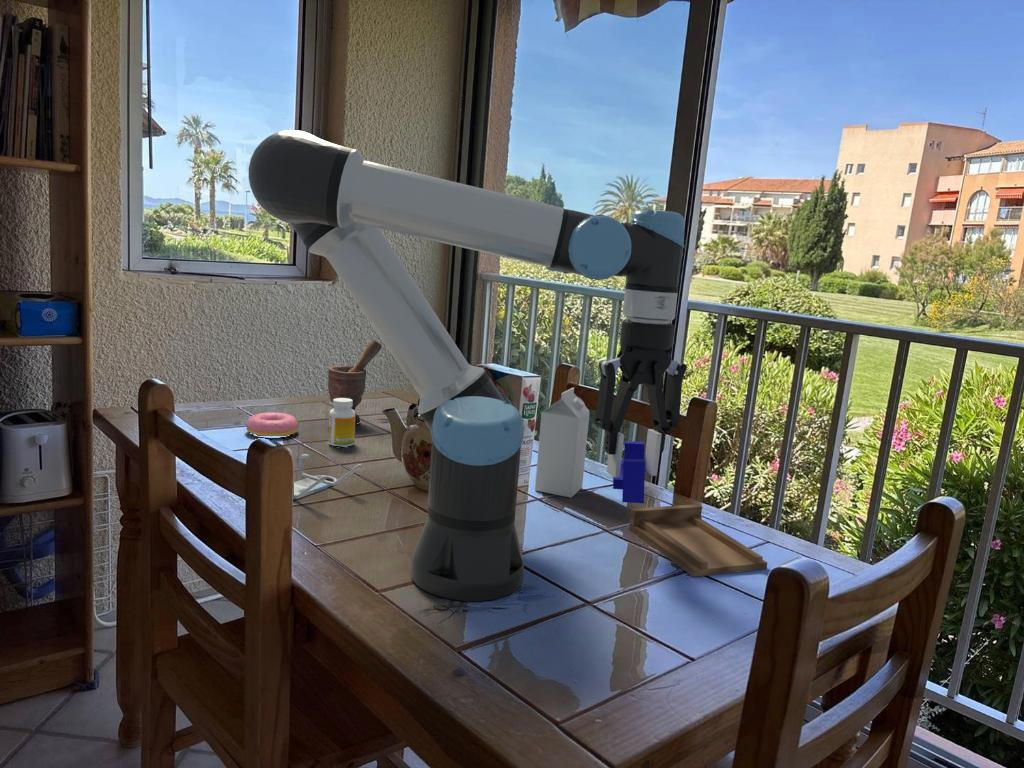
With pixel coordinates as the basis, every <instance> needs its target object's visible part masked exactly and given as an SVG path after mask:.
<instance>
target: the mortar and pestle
mask: <svg viewBox="0 0 1024 768" xmlns="http://www.w3.org/2000/svg"><path fill="white" fill-rule="evenodd" d="M381 349H382V344H381V343H380V342H379V341H377V340H372V341H371V342H369V343H368V345H367V347H366V348H365V350H364V351H363V353H362V355H361V357H360V358H359V359H358V361H357V363H356V364H355V365H331V366H329V367H328V371H327V373H328V375H327V376H328V378H327V379H328V380H327V387H328V388H327V389H328V390H327V391H328V394H329V399H330V400H329V401H330V402H331V403H332V404H333V399H335V398H348V399H352V400H353V405H352V407H351V409H353V410H354V411H355V424H357V423H359V422H360V421H361V418H360V415H359V414H357V412H356V408H357V407H358V406H359V405H360V404H361V402H362V400H363V398H362V397H363V396H364V394H365V390H366V377H367V369H366V367H367V366H368V365H369V363H370V362H371V361H372V360H373V359H374V358H375V357H376V356H377V355H378V353H379V352H381Z"/></svg>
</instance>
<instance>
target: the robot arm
mask: <svg viewBox="0 0 1024 768" xmlns="http://www.w3.org/2000/svg"><path fill="white" fill-rule="evenodd" d="M248 182H249V186H250V190H251V192H252V195H253V196H254V199H255V200H256V202H257V203H258V204H259V206H260V207H261V208H262V209H263V210H265V212H267V213H268V214H269V215H270V216H272V217H274V218H275V219H276V220H279V221H281V222H285V223H287V224H290V226H291V227H292V228H293V230H294V232H295V233H296V235H298V236H297V237H299V239H300V241H301V242H302V243H303V244H304V246H305V247H306V250H308V252H309V253H310V254H313V255H316V256H321V257H324V258H326V259H327V261H328V262H329V264H330V265H331V267H332V268H333V269H334V271H335V272H336V274H337V275H338V277H339V278H340V280H341V281H342V283H343V284H344V286H345V287H346V289H347V290H348V291H349V293H350V295H351V296H352V298H353V299H354V301H355V302H356V304H357V305H358V307H359V308H360V310H361V311H362V313H363V314H364V315H365V317H366V319H368V322H369V324H370V325H371V326H372V327H373V329H374V331H375V332H376V333H377V335H378V336H379V338H380V339H381V341H382V342H383V344H384V346H385V347H386V348H387V349H388V351H389V353H390V354H391V355H392V357H393V359H394V360H395V362H396V363H397V364H398V366H399V368H400V369H401V370H402V372H403V374H405V376H406V378H407V379H408V381H409V383H410V384H411V385H412V387H413V388H414V389H415V391H416V392H417V394H418V396H419V402H418V403H419V405H418V408H417V413H418V414H419V416H420V417H421V419H422V420H423V421H424V423H425V424H426V426H427V428H428V429H429V430H430V436H431V453H430V469H429V485H428V499H427V501H428V502H427V516H426V521H425V523H424V526H423V527H422V530H421V533H420V536H419V537H418V541H417V543H416V546H415V548H414V550H413V553H412V556H411V561H410V576H411V577H410V578H411V579H412V581H413V582H414V584H415V585H416V586H418V587H419V588H420V589H422V590H423V591H425V592H427V593H429V594H432V595H434V596H437V597H440V598H443V599H448V600H456V601H465V602H466V601H467V602H480V601H481V602H482V601H489V600H495V599H496V600H497V599H499V598H504V597H506V596H508V595H511V594H512V593H514V592H515V591H517V590H518V589H519V588H520V587H521V585H522V584H523V580H524V570H525V563H524V562H525V561H524V558H523V553H522V549H521V546H520V541H519V538H518V533H517V529H516V525H515V524H516V523H515V522H516V510H517V509H516V508H517V499H518V498H517V497H518V487H519V486H518V484H519V477H520V476H519V474H520V464H521V463H520V462H521V451H522V450H521V448H522V443H523V441H524V427H523V417H522V415H521V412H520V411H519V410H518V408H516V407H515V406H514V405H513V404H512V402H511V400H509V399H508V398H507V397H506V396H505V394H503V393H501V392H500V391H499V390H498V388H497V386H496V385H495V383H494V382H493V380H492V379H491V377H490V376H489V374H488V373H487V372H486V370H485V369H484V367H480V366H476V365H471V364H469V362H468V361H467V359H466V358H465V357H464V354H463V353H462V352H461V350H460V349H459V347H458V346H457V343H455V341H454V340H453V339H452V336H451V335H450V334H449V332H448V331H447V329H446V327H445V326H444V324H443V322H441V320H440V318H439V317H438V315H437V314H436V312H435V311H434V309H433V308H432V306H431V304H430V303H429V301H428V300H427V298H426V297H425V295H424V293H423V292H422V291H421V289H420V288H419V286H418V285H417V283H416V282H415V281H414V278H413V277H412V276H411V274H410V272H409V271H408V269H407V268H406V267H405V265H404V263H403V261H402V260H401V259H400V257H399V256H398V254H397V252H395V249H394V248H393V246H392V245H391V244H390V242H389V240H388V239H387V237H386V235H384V233H383V232H382V230H387V231H389V232H394V233H399V234H403V235H406V236H407V235H408V236H411V237H416V238H419V239H420V238H421V239H425V240H429V241H434V242H438V243H443V244H446V245H450V246H455V247H459V248H463V249H467V250H473V251H476V252H480V253H484V254H485V253H486V254H490V255H494V256H499V257H502V258H507V259H512V260H515V261H520V262H524V263H529V264H534V265H536V266H537V265H538V266H541V267H545V269H546V270H548V271H550V272H556V273H562V274H565V275H566V274H574V275H578V276H582V277H584V278H587V279H590V280H595V281H604V280H607V279H609V278H611V277H625V287H624V289H625V290H624V295H623V296H624V297H623V306H622V315H623V316H624V317H626V318H625V319H623V320H622V321H621V325H620V326H621V327H620V336H619V345H620V347H619V348H620V349H619V351H618V353H617V355H616V358H613V359H609V360H604V359H601V360H600V361H599V363H598V368H599V372H600V373H599V374H600V381H599V387H598V395H597V400H596V401H597V402H596V410H595V416H594V425H595V426H596V427H598V428H600V429H602V430H604V431H605V437H604V438H605V439H604V452H605V453H607V454H608V456H607V465H606V466H607V467H606V473H608V474H609V475H611V476H612V477H613V476H614V477H615V478H617V477H620V470H621V460H623V450H624V442H625V441H624V440H625V438H624V437H625V434H623V433H621V429H622V425H623V423H624V420H625V418H626V414H627V412H628V411H629V410H628V409H629V407H630V404H631V401H632V399H633V396H634V394H635V392H636V391H637V390H638V388H639V386H640V385H643V384H644V386H645V387H646V390H647V396H648V397H647V398H648V402H649V403H648V404H649V409H650V416H651V422H652V423H651V424H652V427H653V429H652V428H651V429H650V428H647V435H646V442H645V443H646V445H645V451H644V459H645V473H647V474H649V475H651V476H652V477H654V476H655V477H656V476H658V469H659V461H660V460H659V459H660V453H661V454H663V452H664V451H665V444H666V443H665V442H666V437H667V436H666V435H668V434H669V435H670V433H672V429H677V428H679V425H680V417H681V416H680V415H681V401H682V389H683V379H684V376H685V374H686V371H687V369H688V367H687V364H685V363H682V362H680V361H677V360H676V361H675V360H673V359H672V357H671V352H670V351H671V348H672V346H673V341H674V333H675V332H674V329H675V326H674V324H673V323H671V321H673V320H674V319H675V318H676V309H677V301H678V300H677V299H678V291H679V285H680V284H679V282H680V275H681V268H682V267H681V266H682V259H683V253H684V248H685V244H684V243H685V228H686V227H685V225H686V224H685V223H686V221H685V217H683V214H681V213H678V212H676V211H675V212H674V211H668V210H651V209H638V210H635V211H634V212H633V213H632V215H631V216H632V217H631V219H630V222H620V221H619V220H617V219H616V218H614V217H611V216H609V215H604V214H597V215H596V214H595V215H594V214H589V213H586V212H582V211H577V210H573V209H567V208H564V207H561V206H557V205H554V204H553V205H552V204H549V203H545V202H539V201H536V200H532V199H528V198H523V197H521V196H515V195H511V194H508V193H502V192H499V191H494V190H491V189H490V190H489V189H486V188H481V187H478V186H473V185H469V184H464V183H460V182H456V181H452V180H448V179H443V178H439V177H436V176H430V175H427V174H423V173H417V172H415V171H410V170H406V169H402V168H398V167H394V166H390V165H389V166H388V165H384V164H380V163H378V162H377V163H376V162H372V161H369V160H365V158H364V157H363V155H362V154H361V153H360V151H359V150H358V149H354V148H351V147H346V146H343V145H339V144H337V143H333V142H330V141H327V140H324V139H322V138H320V137H318V136H317V135H314V134H311V133H310V132H307V131H303V130H295V129H294V130H293V129H289V130H287V129H286V130H281V131H279V132H278V131H277V132H275V133H273V134H271V135H268V137H266V138H265V139H263V140H262V141H261V142H260V143H259V144H258V146H257V147H256V148H255V150H254V151H253V153H252V154H251V158H250V160H249V165H248ZM618 369H620V371H621V377H620V378H619V381H618V388H617V392H616V395H615V389H616V383H617V380H616V379H617V376H616V375H617V374H618V372H619V370H618ZM665 372H666V380H665V381H666V382H665V386H664V380H663V379H664V378H663V375H664V374H665ZM664 388H665V393H664ZM664 394H665V395H664ZM614 396H615V397H614Z"/></svg>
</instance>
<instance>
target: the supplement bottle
mask: <svg viewBox="0 0 1024 768" xmlns="http://www.w3.org/2000/svg"><path fill="white" fill-rule="evenodd" d="M352 405H353V400H352V399H348V398H335V399H333V403H332V407H333V408H332V409H330V410H329V416H328V420H329V423H328V440H327V441H328V445H329V444H331V445H334V446H351V445H353V444H354V445H355V442H356V441H355V439H356V438H355V436H356V425H355V412H356V410H355V411H354V410H353V409H351V407H352ZM354 445H353V446H354ZM351 447H352V446H351Z"/></svg>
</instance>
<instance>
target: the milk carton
mask: <svg viewBox="0 0 1024 768" xmlns="http://www.w3.org/2000/svg"><path fill="white" fill-rule="evenodd" d="M574 392H575V387H571V388H569V389H567V390H565V391H563V392H562V393H560V394H561V396H560V399H558V400H557V401H556V402H555V403H553V404H551V405H550V406H549V407H547V408H545V409H544V410H542V411H541V417H540V425H539V426H540V427H539V428H540V429H539V438H538V449H537V450H538V451H537V461H536V472H535V482H534V483H535V485H534V491H537V492H540V493H541V492H542V493H546V494H549V495H556V496H561V497H567V498H571V499H572V498H573V497H574V496H575V495H576V494H577V493H578V492H579V491H580V490H581V489H582V488H583V483H584V475H585V474H584V473H585V472H584V471H585V462H586V453H587V452H586V451H587V444H588V443H587V442H588V441H587V439H588V435H589V434H588V431H589V423H590V410H589V409H588V408H587V406H586V405H585V403H584V401H583V400H582V399H581V398H580V397H578V396H577V395H576V394H575V393H574Z"/></svg>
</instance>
